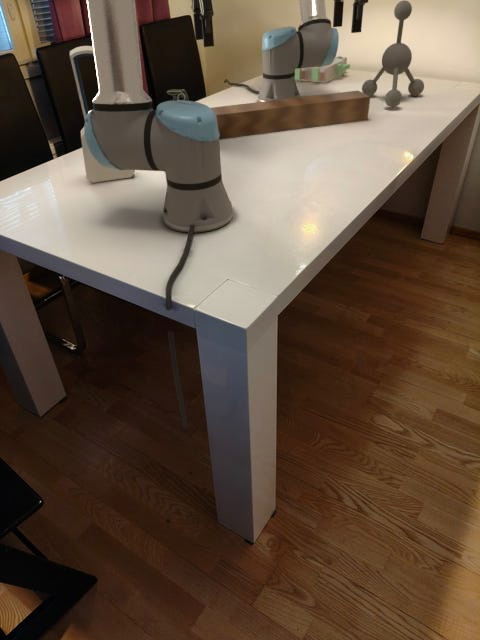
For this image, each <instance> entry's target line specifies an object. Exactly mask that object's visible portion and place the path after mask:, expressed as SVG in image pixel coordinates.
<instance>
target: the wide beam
mask: <svg viewBox="0 0 480 640" xmlns="http://www.w3.org/2000/svg"><path fill="white" fill-rule="evenodd" d="M370 101H371V96H368V95H366V94H364V93H363V92H362V91H360V90H351V91H341V92H333V93H325V94H324V93H323V94H316V95H307V96H299V97H298V98H290V99H281V100H273V101H264V102H258V101H255V102H248V103H240V104H231V105H223V106H213V107H210V108H211V109H212V110H213V111H214V112H215V114H216V117H217V124H218V130H219V134H220V137H219V140H222V139H230V138H238V137H247V136H252V135H254V136H255V135H262V134H270V133H276V132H277V133H278V132H286V131H292V130H300V129H308V128H316V127H325V126H332V125H339V124H346V123H355V122H362V121H368V120H369V113H370V112H369V111H370V103H371V102H370Z"/></svg>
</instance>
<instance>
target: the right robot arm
mask: <svg viewBox="0 0 480 640" xmlns="http://www.w3.org/2000/svg"><path fill="white" fill-rule="evenodd" d="M344 1H345V0H333V2H334V3H333V4H334V5H333V17H332V18H333V19H332V20H331V19H330V18H328V17H327V12H326V10H327V9H326V0H299V9H300V10H299V11H300V19H301V22H300V23H299V25H298V27H297V29H296V27H295V26H283V27H278V28H273V29H271V30H268V31H266V32H265V33H264V34H263V36H262V37H261V38H262V41H261V56H262V58H261V62H262V65H261V66H262V81H261V86H260V87H259V90H256V89H253V88H251V87H250V86H249V85H248V84H246V83H238V82H237V83H236V82H230V81H229V79H227V78H225V79H223V83H225V84H226V83H227V84H228V85H230V86H235V87H243V88H246V89H247V90H248V91H250V92H252V93H254V94H258V96H257V102H264V101H273V100H281V99H290V98H298V97H300V92H299V88H298V84H297V80H295V69H298V68H310V67H322V66H327V65H330V64H332V63H333V61H334V59H335V57H337V54H338V50H339V49H338V48H339V41H340V39H339V38H340V37H339V35H340V34H339V31H338V29H337V28H340V27H341V28H342V27H343V18H344V5H345V2H344ZM367 3H369V0H354V1H353V4H352V17H351V30H350V33H351V34H358V33H362V27H363V16H364V15H363V14H364V6H365V5H366V4H367Z"/></svg>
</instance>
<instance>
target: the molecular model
mask: <svg viewBox="0 0 480 640" xmlns="http://www.w3.org/2000/svg"><path fill="white" fill-rule="evenodd" d="M412 6H413V5H412V4H411V2H410V1H408V0H401V1H399V2H398V3H396V5H395V7H394V9H393V10H394V11H393V14H394V18H395V19H396V20H398V28H397V34H396V35H397V36H396V42H395V43H391V45H389V46H387V48H386V49H385V50H384V52H383V53H382V57H381V66H382V67H381V68H380V70H379V71H378V72H377V73H376V75H375V76H374V79H367V80H366V81H364V82H363V83H362V86H361V92H362V93H364V94H366V95H368V96H370V97H372V96H373V95H375V94H376V93H377V91H378V83H377V82H378V81H379V79H380V78H381V76H382V75H383V74H384V72H386V73H387V74H389V75H391V76H393V77H392V87H391V90H388V91H387V92H386V94H385V97H384V102H385V104H386V105H387V107H390V108H396V107H398V106H399V105H400V104H401V102H402V100H403V95H402V92H401V91H400V90H399V89H398V81H399V75H401V74H404V73H405V75H406V77H407V78H408V81H409V83H408V88H407V89H408V90H407V91H408V93H409V94H410V95H411V96H413V97H415V96H419V95H421V94H422V93H423V91H424V89H425V83H424V81H423V80H422V79H420V78H414V76H413V74H412V73H411V71H410V69H409V67H410V65H411V63H412V59H413V54H412V51H411V49H410V47H409V46H408V45H407V44H405V43H403V42H402V37H403V31H404V23H405V20H407V19H409V18H410V16H411V14H412V11H413V7H412Z"/></svg>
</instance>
